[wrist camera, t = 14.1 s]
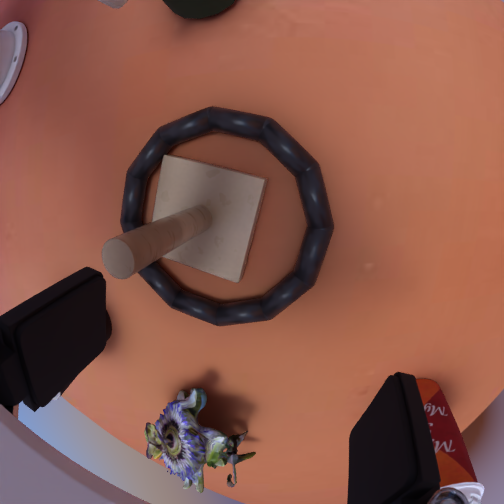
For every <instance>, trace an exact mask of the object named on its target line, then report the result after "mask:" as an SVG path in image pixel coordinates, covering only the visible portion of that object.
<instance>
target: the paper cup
mask: <svg viewBox="0 0 504 504" xmlns="http://www.w3.org/2000/svg"><path fill="white" fill-rule="evenodd" d="M416 382H417V385H418V388H419V392H420V395H421V399H422V402H423V406H424V409H425V413H426V417H427V421H428V424H429V428H430V432H431V436H432V441H433V445H434V449H435V454H436V458H437V463H438V468H439V473H440V478H441V482H440V483H439V484H440V489H441V488H445V487H451V488H455V489H457V490H459V491H461V492H462V493H463V494H464V495H465V496H466V498H467V499H468V501H469V504H481V497H482V495H483V492H484V487H483V485H482V484H480V483H478V482H477V479H476V476H475V473H474V470H473V467H472V464H471V461H470V459H469V455H468V452H467V449H466V446H465V443H464V441H463V438H462V435H461V433H460V430H459V428H458V426H457V423H456V421H455V419H454V417H453V414H452V412H451V410H450V408H449V405H448V403H447V401H446V399H445V397H444V394H443V392H442V390H441V389H440V387H439V385H438V384H437V383H436V382H434V381H432V380H429V379H416Z"/></svg>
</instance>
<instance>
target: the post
mask: <svg viewBox="0 0 504 504" xmlns="http://www.w3.org/2000/svg"><path fill="white" fill-rule="evenodd" d="M267 181H268V179H267V178H264V177H260V176H257V175H253V174H249V173H246V172H242V171H238V170H234V169H230V168H226V167H222V166H218V165H214V164H210V163H206V162H202V161H197V160H193V159H189V158H184V157H180V156H175V155H164V156H163V161H162V166H161V171H160V177H159V182H158V188H157V194H156V200H155V206H154V212H153V219H152V222H151V223H148V224H146V225H143V226H141V227H138V228H136V229H133V230H131V231H128V232H126V233H124V234H121V235H119V236H116V237H114V238H112V239H109V240H108V241H107V242H106V243H105V244H104V246H103V249H102V260H103V263H104V266H105V268H106V269H107V271H108V272H109V273H110V274H111V275H112V276H114V277H115V278H118V279H127V278H129V277H130V276H132V275H134V274H135V273H137V272H138V271H140V270H142V269H143V268H145V267H146V266H148V265H150V264H151V263H153V262H154V261H156V260H158V259H159V258H161V257H165V258H168V259H170V260H173V261H176V262H179V263H182V264H184V265H187V266H190V267H193V268H196V269H198V270H201V271H204V272H207V273H210V274H213V275H216V276H218V277H221V278H224V279H227V280H230V281H233V282H236V283H239V281H240V280H241V279H242V277H243V273H244V269H245V266H246V262H247V258H248V254H249V250H250V246H251V242H252V239H253V235H254V231H255V227H256V223H257V219H258V216H259V212H260V208H261V204H262V200H263V196H264V192H265V189H266V185H267Z"/></svg>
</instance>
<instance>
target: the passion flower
mask: <svg viewBox="0 0 504 504" xmlns="http://www.w3.org/2000/svg"><path fill="white" fill-rule="evenodd" d="M206 402H207V395H206V393H205V391H204V390H203V389H202V388H197V389H196V388H192V389H191V391H190V396H189V394H188V393H186V392H185V391H183V390H181V391H180V392H179V394H178V396H177V400H175V401H173V402H171V403H168V405H167V406H166V409H164V410H163V412H164V415H162V414H160V418H159V420H157V421H156V423H155V424H156V426H155V425H154V424H151V423H146V428H145V432H144V433H145V438H146V441H147V443H148V448H147V450H146V454H147V458H148V459H151V458H152V456H153V455H154V459H157V458H159V457H161V458H160V459H164V463H165V464H166V467H168V468H170V469H171V473H170V474H172V472H173V474H174V475H175V474H176V473H177V476H180V477H181V479H182V480H183V481H185V483H184V484H185V485H184V486H183V488H184V489H187V488H189V487H190V486H191V485H192V482H193V483H194V484H195V485H196V490H197V491H198V492H200V493H202V492H203V489H204V477H203V466H204V464H206V463H207V465H208V466H209V467H211V466H212V467H214V469H215V468H216V467H217V466H225V465H226V464H227V462H228V463H231V464H233V473H234V482H235V484H236V483H237V481H236V469H235V464H237V463H239V462H241V461H243V460H246V459H249V458H251V457H253V456H254V455H255V454H256V452H251V453H247V454H242V455H235V454H237V451H238V450H237V447H238V445H239V444H240V442H241V441H242V440H243V439H244V437H245V435H246V433H247V432H248V431H246V432H244V433H243V434H241V435H239V434H238V435H232V436H230V437H229V438H228V437H227V435H226V434H224V433H223V432H221V431H219V430H215V429H213V428H208V427H203V426H201V425H199V423H198V413H199V411H200V410H201V409H203V407H204V406H205V404H206ZM230 445H231V446H230ZM225 448H227V451H226V452H223V450H224V449H225ZM160 459H159V460H160ZM167 472H168V471H167ZM231 478H232V475H231V474H229V475H228V478H227V480H228V481H227V485H228V486H229V487H234V486H235V484H233V483H232V482H231ZM185 479H186V480H185Z"/></svg>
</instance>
